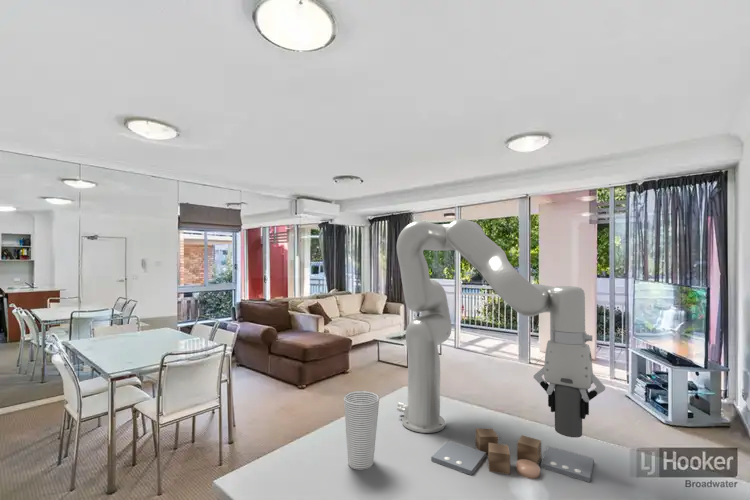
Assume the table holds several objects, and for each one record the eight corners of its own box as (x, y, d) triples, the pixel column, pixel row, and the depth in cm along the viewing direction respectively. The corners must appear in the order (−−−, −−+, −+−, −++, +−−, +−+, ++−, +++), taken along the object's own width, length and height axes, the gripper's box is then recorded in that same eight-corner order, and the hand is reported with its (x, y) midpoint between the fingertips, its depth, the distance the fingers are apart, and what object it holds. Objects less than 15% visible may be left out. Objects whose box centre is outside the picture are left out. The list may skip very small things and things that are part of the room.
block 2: (489, 471, 84) (489, 451, 85) (488, 461, 89) (488, 442, 89) (509, 474, 83) (509, 454, 83) (508, 464, 88) (508, 445, 88)
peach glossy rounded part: (511, 467, 86) (511, 460, 86) (529, 464, 87) (529, 457, 87) (525, 481, 81) (526, 474, 81) (544, 478, 82) (545, 471, 82)
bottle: (586, 439, 84) (585, 373, 85) (558, 436, 85) (558, 371, 86) (577, 427, 90) (577, 366, 91) (551, 425, 91) (551, 364, 92)
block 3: (517, 461, 89) (517, 442, 89) (521, 453, 93) (521, 435, 93) (537, 467, 87) (537, 447, 87) (541, 459, 90) (541, 440, 90)
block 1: (480, 454, 92) (480, 436, 92) (475, 445, 96) (475, 428, 96) (498, 455, 92) (498, 436, 92) (492, 446, 96) (492, 428, 96)
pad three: (540, 467, 86) (540, 462, 86) (548, 449, 94) (548, 445, 95) (589, 482, 81) (589, 477, 81) (593, 462, 89) (593, 458, 89)
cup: (361, 450, 93) (362, 388, 93) (386, 463, 87) (386, 397, 87) (335, 462, 87) (336, 396, 87) (359, 478, 81) (360, 406, 81)
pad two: (431, 460, 88) (431, 456, 88) (448, 444, 97) (448, 440, 97) (471, 475, 83) (471, 470, 83) (486, 456, 91) (486, 451, 91)
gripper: (610, 339, 87) (611, 417, 86) (532, 331, 97) (533, 401, 96) (608, 345, 80) (610, 429, 80) (526, 335, 90) (526, 410, 90)
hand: (568, 412), depth 88 cm, fingers closed on bottle, 5 cm apart
